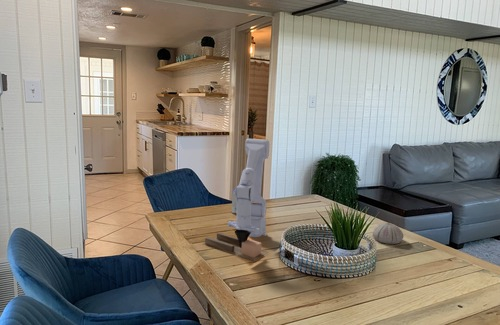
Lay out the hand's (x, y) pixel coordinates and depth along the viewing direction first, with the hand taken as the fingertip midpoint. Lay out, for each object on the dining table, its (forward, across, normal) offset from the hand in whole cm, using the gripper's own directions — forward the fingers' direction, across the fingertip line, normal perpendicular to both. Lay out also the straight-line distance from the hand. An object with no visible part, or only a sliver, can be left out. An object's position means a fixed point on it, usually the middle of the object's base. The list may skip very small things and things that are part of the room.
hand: (242, 247), depth 156 cm
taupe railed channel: (+2, -4, 0) cm, 5 cm away
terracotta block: (+1, +4, 0) cm, 5 cm away
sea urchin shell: (+3, +42, +54) cm, 68 cm away
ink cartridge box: (+3, -32, +43) cm, 54 cm away
